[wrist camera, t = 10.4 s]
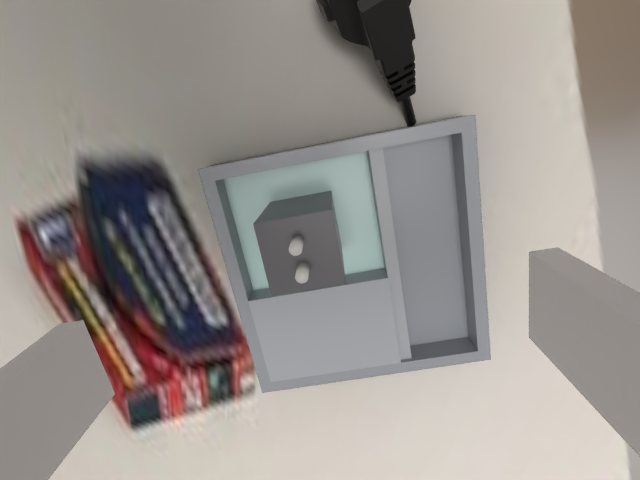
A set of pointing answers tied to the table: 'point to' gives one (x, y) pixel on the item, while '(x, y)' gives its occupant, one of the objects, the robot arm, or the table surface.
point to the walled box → (364, 255)
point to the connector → (300, 244)
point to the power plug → (380, 40)
